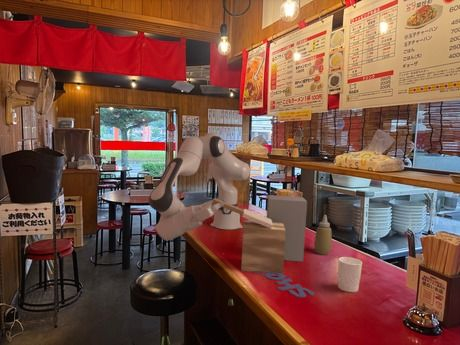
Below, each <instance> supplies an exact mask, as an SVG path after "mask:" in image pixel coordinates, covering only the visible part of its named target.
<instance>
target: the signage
mask: <svg viewBox="0 0 460 345" xmlns="http://www.w3.org/2000/svg"><path fill="white" fill-rule="evenodd" d="M252 273H254V274H260V275H261V277H262V276H263V277H265V278H267V279H268V280H270V281H272V280H273V281H275V284H277V285H278V286H279V287H276V289H277V290H279V291H281V292H283V291H287V290H288V292H289V294H291V295H293V296H295V297H297V298H302V299H303V298H306V296H307V295H306V293H307V294H308V295H310V296H315V295H316V293H314V292H313V291H312V290H310V289H308V288H306V287H303V286H302V285H301V284H299V283H296V284H290V283H291V282H293V280H292V279H291V278H290V277H289V276H287V275H285V274H284V273H283V274H282V273H272V272H266V273H265V272H262V273H260V272H257V271H252ZM293 289H296V291H297V292H296V291H294V290H293ZM305 292H306V293H305Z"/></svg>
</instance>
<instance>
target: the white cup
mask: <svg viewBox="0 0 460 345" xmlns="http://www.w3.org/2000/svg"><path fill="white" fill-rule="evenodd" d="M337 264H338V265H337V266H338V267H337V287H338V289H339V290H341V291H344V292H348V293H356V292H358V291H359V286H360V281H361V276H362V275H361V274H362V267H363V261H362V260H360V259H358V258H354V257H351V256H350V257H348V256H342V257H339V258H338V262H337Z"/></svg>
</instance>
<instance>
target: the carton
mask: <svg viewBox="0 0 460 345" xmlns="http://www.w3.org/2000/svg"><path fill="white" fill-rule="evenodd" d="M307 210H308V201H307V199H305V198H304V197H302V196H290V195H289V196H285V195H272V194H271V195H270V194H268V195H267V204H266V218H269V219H271V220H272V222H273V223H283V225H284V227H285V230H286V234H285V250H284V261H289V262H290V261H291V262H304V256H305V254H304V251H305V238H306V223H307V222H306V221H307V214H308V213H307Z"/></svg>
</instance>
